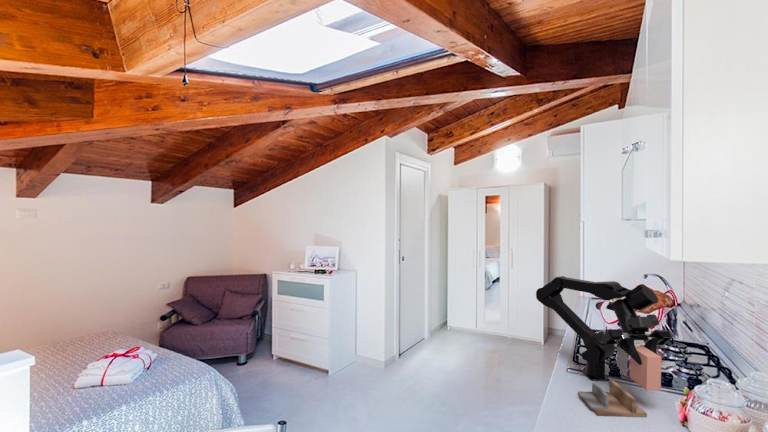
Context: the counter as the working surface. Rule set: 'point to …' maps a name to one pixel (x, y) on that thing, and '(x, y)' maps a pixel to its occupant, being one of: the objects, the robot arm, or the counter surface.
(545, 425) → the counter surface
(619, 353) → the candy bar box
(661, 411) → the counter surface
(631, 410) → the book rack
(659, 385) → the pink rectangular block
